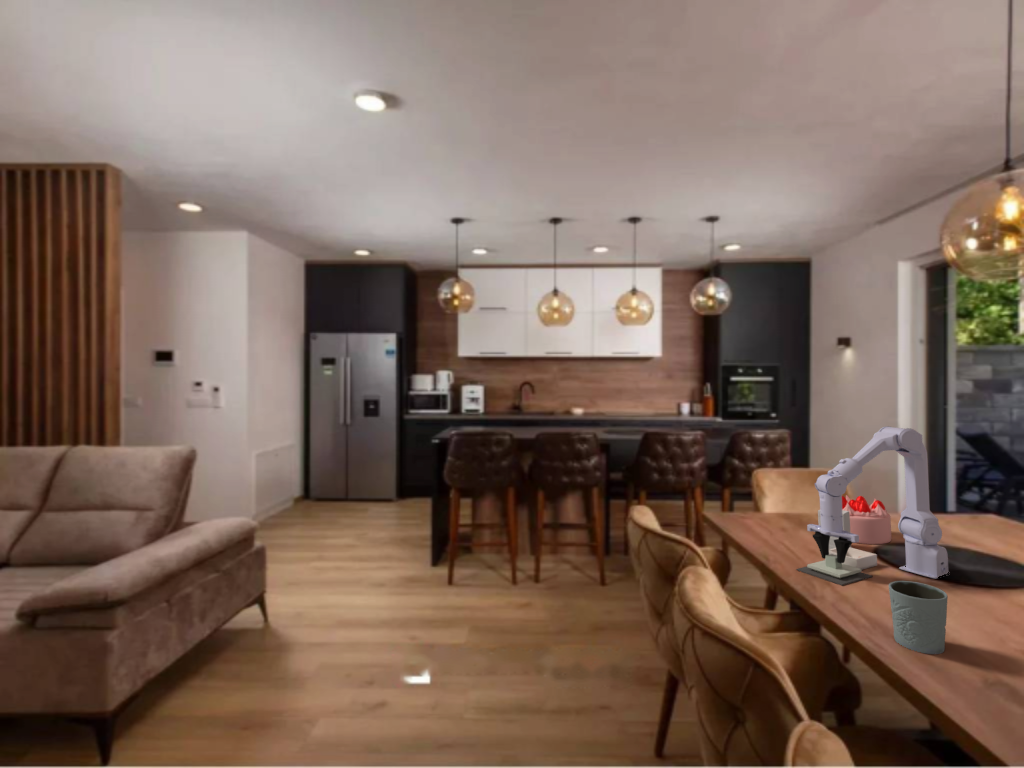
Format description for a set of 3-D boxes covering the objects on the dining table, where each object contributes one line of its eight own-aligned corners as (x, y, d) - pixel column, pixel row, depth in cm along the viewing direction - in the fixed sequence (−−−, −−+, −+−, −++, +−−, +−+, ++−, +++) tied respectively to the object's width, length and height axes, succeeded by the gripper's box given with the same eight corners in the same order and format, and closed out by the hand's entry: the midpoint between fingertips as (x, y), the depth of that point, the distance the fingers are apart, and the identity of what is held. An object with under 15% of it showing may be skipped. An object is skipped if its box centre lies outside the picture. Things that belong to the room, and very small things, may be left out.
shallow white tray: (877, 565, 156) (876, 554, 157) (857, 571, 152) (856, 559, 152) (844, 556, 166) (844, 545, 166) (824, 561, 161) (824, 550, 162)
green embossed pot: (922, 632, 114) (920, 579, 114) (963, 655, 104) (961, 597, 104) (879, 634, 114) (876, 581, 114) (916, 658, 104) (914, 599, 104)
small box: (851, 548, 173) (850, 511, 174) (845, 552, 169) (843, 514, 170) (825, 543, 180) (824, 507, 180) (818, 547, 176) (817, 510, 176)
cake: (850, 527, 199) (849, 491, 199) (905, 540, 180) (903, 501, 181) (815, 533, 192) (814, 496, 192) (868, 548, 173) (867, 507, 174)
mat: (872, 576, 147) (872, 575, 147) (842, 585, 142) (842, 584, 142) (826, 562, 160) (825, 561, 160) (796, 570, 154) (796, 568, 154)
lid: (861, 574, 148) (861, 558, 149) (840, 580, 144) (839, 563, 144) (828, 564, 158) (828, 549, 158) (807, 569, 154) (806, 554, 154)
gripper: (800, 511, 156) (801, 555, 156) (847, 522, 143) (849, 569, 143) (814, 509, 159) (816, 551, 159) (862, 519, 146) (864, 565, 146)
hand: (833, 560), depth 151 cm, fingers open, 4 cm apart
